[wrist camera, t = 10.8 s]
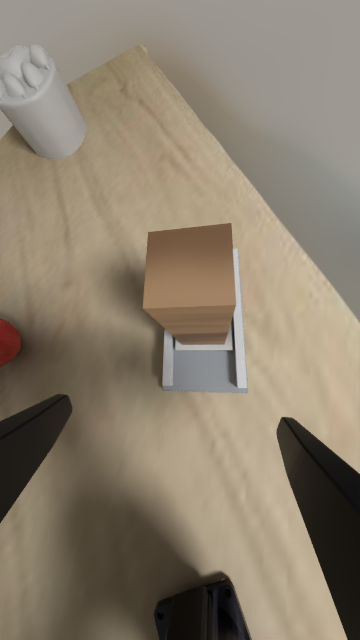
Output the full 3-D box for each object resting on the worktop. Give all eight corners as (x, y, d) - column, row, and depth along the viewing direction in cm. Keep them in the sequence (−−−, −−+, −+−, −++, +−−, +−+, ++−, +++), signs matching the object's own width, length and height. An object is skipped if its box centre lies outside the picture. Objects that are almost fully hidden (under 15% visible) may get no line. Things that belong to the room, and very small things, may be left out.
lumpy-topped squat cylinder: (71, 103, 37) (29, 25, 29) (98, 137, 33) (58, 58, 24) (24, 133, 37) (-30, 64, 29) (45, 171, 33) (-12, 103, 24)
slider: (246, 392, 19) (250, 394, 17) (164, 389, 20) (160, 391, 18) (237, 253, 23) (239, 244, 21) (169, 259, 24) (165, 250, 22)
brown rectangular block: (231, 350, 19) (255, 315, 8) (176, 350, 20) (126, 320, 9) (229, 302, 20) (246, 212, 9) (177, 304, 21) (135, 225, 10)
